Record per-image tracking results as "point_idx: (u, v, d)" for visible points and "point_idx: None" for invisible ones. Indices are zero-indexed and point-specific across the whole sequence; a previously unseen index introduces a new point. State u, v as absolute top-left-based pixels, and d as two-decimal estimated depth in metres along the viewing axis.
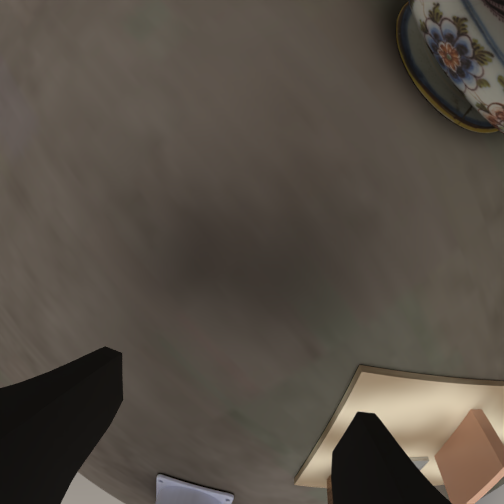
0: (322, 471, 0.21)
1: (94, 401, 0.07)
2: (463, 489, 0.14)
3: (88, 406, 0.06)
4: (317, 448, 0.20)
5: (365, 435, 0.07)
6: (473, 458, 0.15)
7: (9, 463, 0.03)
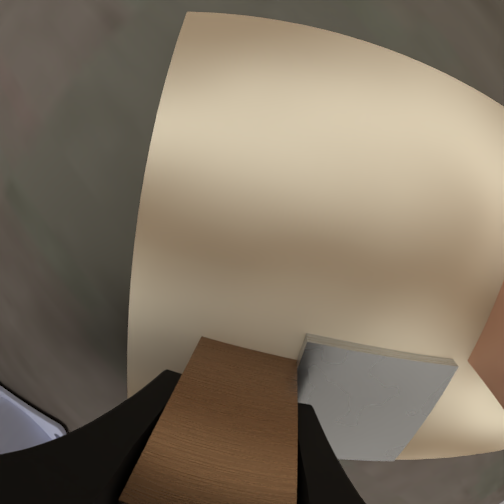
0: (169, 369, 0.10)
1: None
2: None
3: None
4: (134, 276, 0.09)
5: None
6: None
7: None
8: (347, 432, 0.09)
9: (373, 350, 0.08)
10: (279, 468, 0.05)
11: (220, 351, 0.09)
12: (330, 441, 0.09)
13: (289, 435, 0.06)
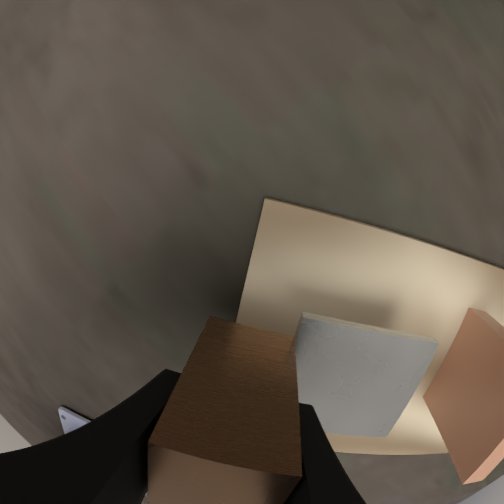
0: None
1: None
2: (475, 439, 0.09)
3: None
4: None
5: None
6: (486, 381, 0.10)
7: None
8: (341, 406, 0.11)
9: (361, 326, 0.10)
10: (284, 417, 0.06)
11: (227, 328, 0.10)
12: (326, 415, 0.11)
13: (291, 392, 0.07)
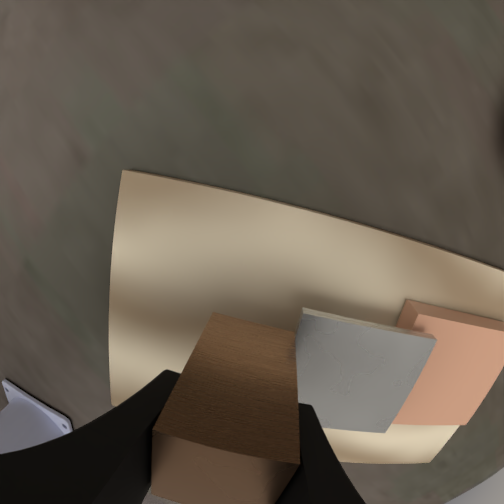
0: (134, 382, 0.15)
1: None
2: (466, 401, 0.12)
3: None
4: (111, 329, 0.15)
5: None
6: (466, 365, 0.11)
7: None
8: (341, 401, 0.11)
9: (359, 322, 0.10)
10: (283, 408, 0.07)
11: (229, 323, 0.10)
12: (325, 410, 0.11)
13: (290, 384, 0.08)
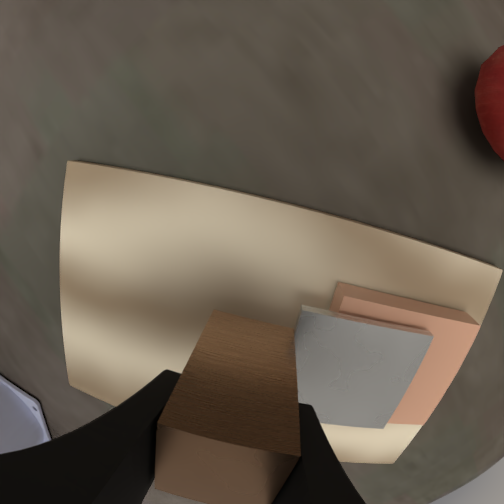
0: (85, 362, 0.16)
1: None
2: (420, 398, 0.12)
3: None
4: (63, 310, 0.15)
5: None
6: None
7: None
8: (339, 397, 0.11)
9: (358, 318, 0.11)
10: (284, 402, 0.07)
11: (230, 320, 0.11)
12: (324, 406, 0.11)
13: (290, 379, 0.08)
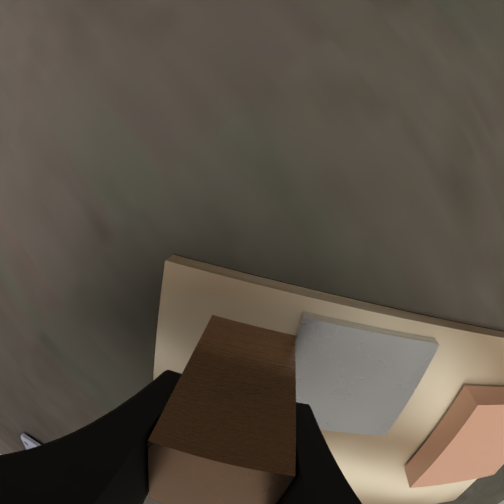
0: None
1: None
2: (498, 458, 0.10)
3: None
4: None
5: None
6: None
7: None
8: (341, 404, 0.11)
9: (361, 326, 0.10)
10: (280, 418, 0.07)
11: (229, 327, 0.10)
12: (326, 413, 0.11)
13: (289, 392, 0.08)
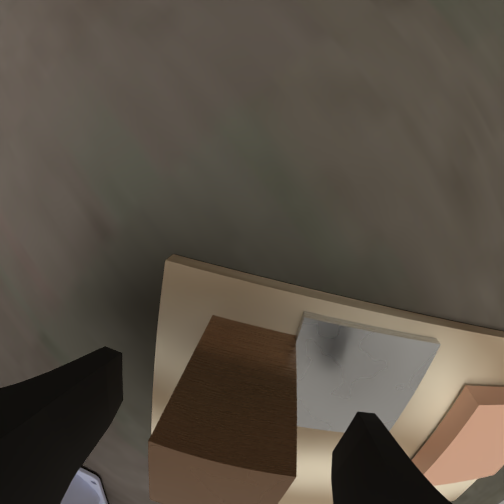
0: None
1: (94, 401, 0.07)
2: (499, 458, 0.10)
3: (88, 406, 0.06)
4: (153, 417, 0.13)
5: (365, 435, 0.07)
6: None
7: (9, 464, 0.03)
8: (342, 404, 0.11)
9: (362, 326, 0.10)
10: (281, 418, 0.07)
11: (229, 327, 0.10)
12: (326, 413, 0.11)
13: (289, 392, 0.08)
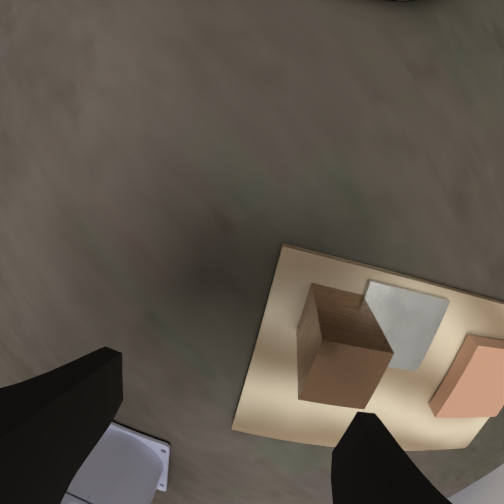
0: (261, 409, 0.19)
1: (94, 401, 0.07)
2: (498, 399, 0.15)
3: (88, 406, 0.06)
4: (248, 370, 0.19)
5: (365, 435, 0.07)
6: (500, 375, 0.15)
7: (9, 463, 0.03)
8: (389, 343, 0.16)
9: (402, 288, 0.16)
10: (375, 330, 0.12)
11: (325, 289, 0.16)
12: None
13: (373, 320, 0.13)
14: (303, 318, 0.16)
